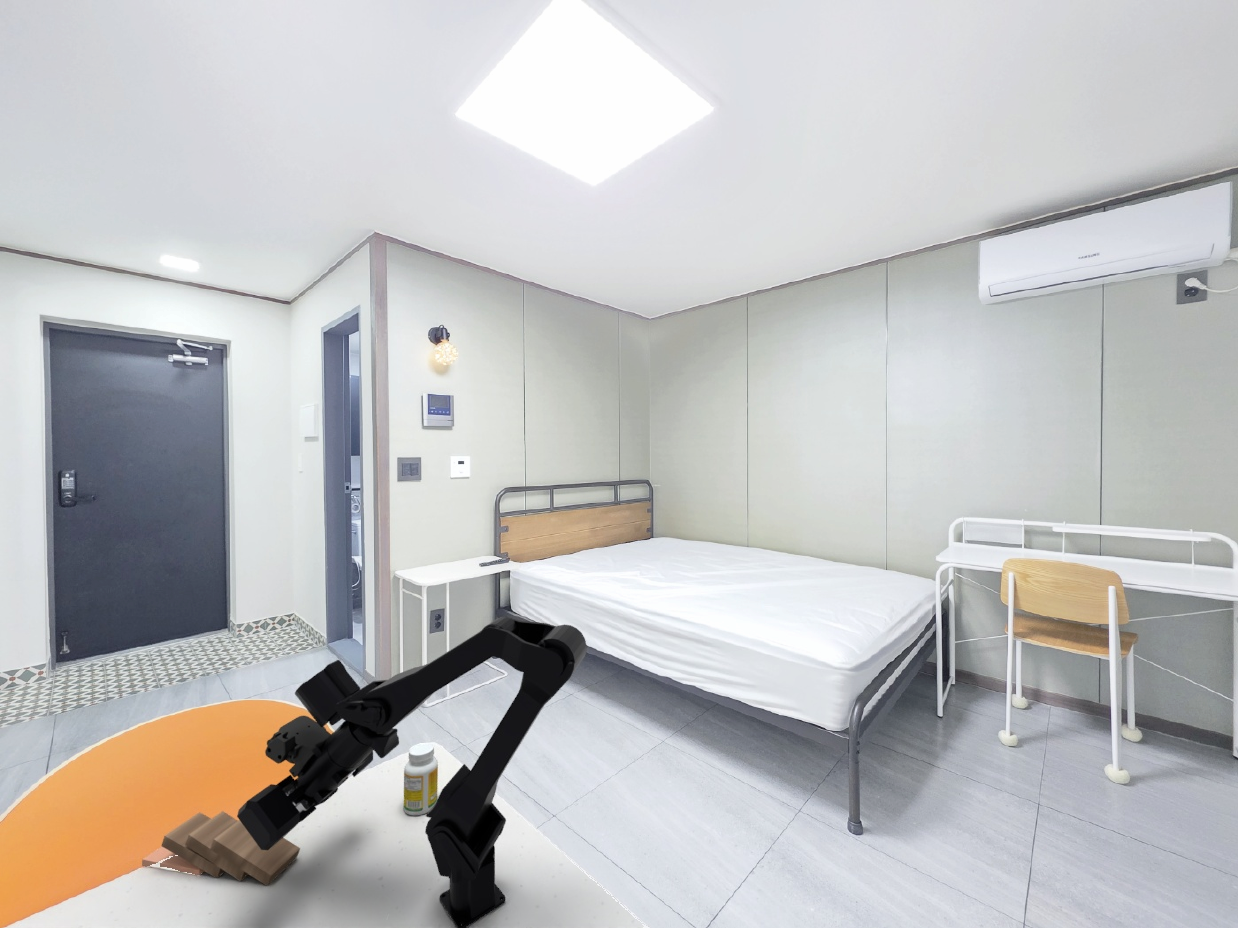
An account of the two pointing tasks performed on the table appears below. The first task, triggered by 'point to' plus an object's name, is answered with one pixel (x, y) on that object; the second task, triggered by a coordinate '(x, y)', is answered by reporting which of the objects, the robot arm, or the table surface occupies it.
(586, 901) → the table surface
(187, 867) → the domino
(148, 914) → the table surface
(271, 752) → the robot arm
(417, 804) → the supplement bottle
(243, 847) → the domino
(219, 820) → the domino
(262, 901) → the table surface
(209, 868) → the domino
